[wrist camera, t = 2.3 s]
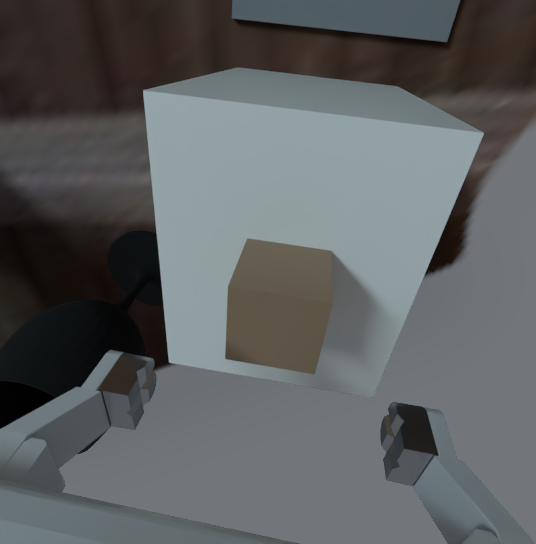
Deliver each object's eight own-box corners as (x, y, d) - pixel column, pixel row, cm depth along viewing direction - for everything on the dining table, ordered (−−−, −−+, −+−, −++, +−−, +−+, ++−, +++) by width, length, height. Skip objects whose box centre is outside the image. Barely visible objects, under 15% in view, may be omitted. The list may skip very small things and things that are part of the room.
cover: (231, 235, 37) (141, 418, 19) (238, 67, 28) (83, 104, 10) (352, 253, 36) (381, 462, 18) (397, 86, 28) (540, 163, 9)
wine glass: (103, 284, 43) (-33, 431, 27) (115, 215, 38) (-49, 348, 21) (181, 315, 44) (97, 476, 28) (204, 253, 39) (115, 408, 22)
